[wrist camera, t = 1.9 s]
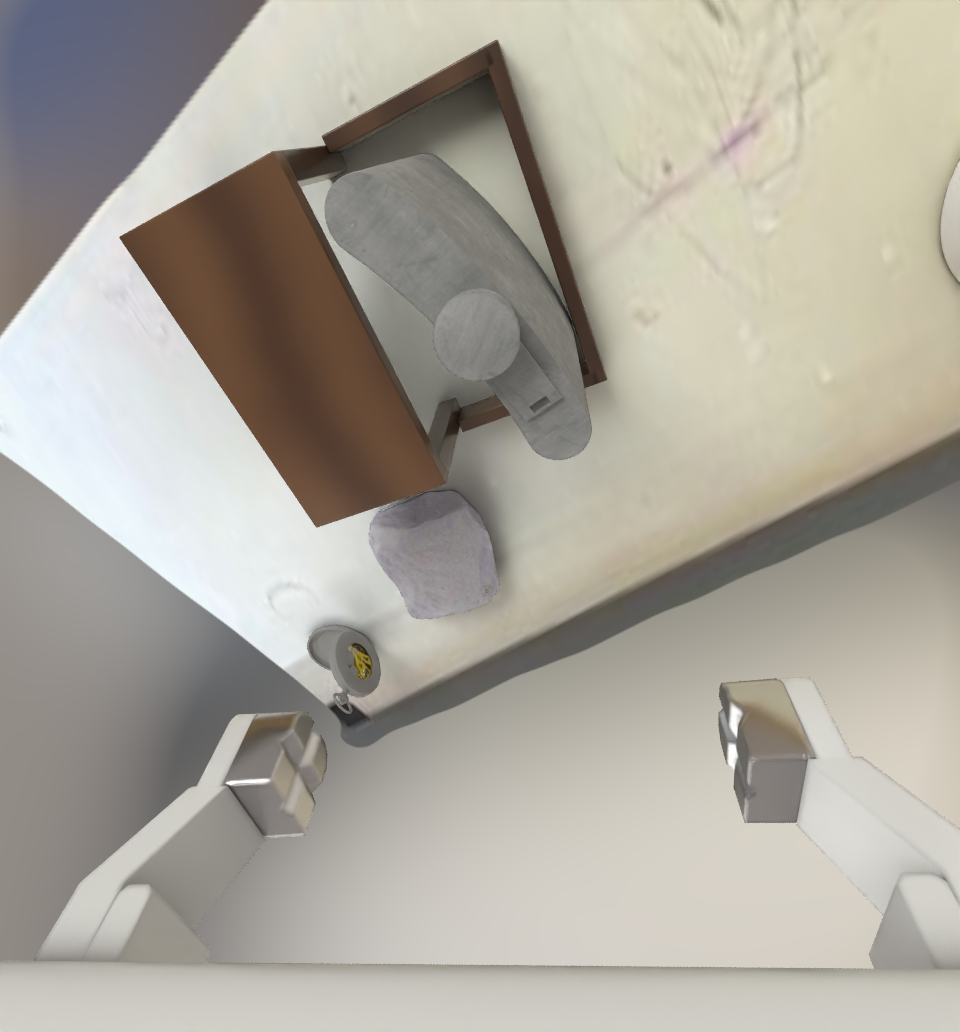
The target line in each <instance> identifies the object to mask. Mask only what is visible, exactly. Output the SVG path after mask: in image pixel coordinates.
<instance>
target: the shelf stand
mask: <svg viewBox="0 0 960 1032" xmlns="http://www.w3.org/2000/svg"><path fill="white" fill-rule="evenodd" d="M487 73H489V74H490V77H491V79H492V82H493V85H494V88H495V91H496V94H497V97H498V100H499V103H500V106H501V109H502V112H503V115H504V118H505V121H506V124H507V127H508V130H509V133H510V136H511V139H512V142H513V145H514V148H515V151H516V154H517V157H518V160H519V163H520V166H521V169H522V172H523V175H524V178H525V181H526V184H527V187H528V190H529V193H530V196H531V199H532V202H533V205H534V208H535V211H536V214H537V217H538V220H539V223H540V226H541V229H542V231H543V234H544V237H545V240H546V243H547V246H548V249H549V252H550V255H551V258H552V261H553V264H554V267H555V270H556V273H557V276H558V279H559V282H560V285H561V288H562V291H563V294H564V297H565V300H566V303H567V306H568V309H569V312H570V315H571V318H572V321H573V324H574V327H575V330H576V333H577V336H578V339H579V342H580V345H581V348H582V351H583V354H584V357H585V360H586V362H584V363H582V364H580V369H581V374H582V379H583V384H584V388H586V387H589V386H592V385H595V384H597V383H600V382H603V381H606V380H607V377H606V374H605V370H604V367H603V364H602V361H601V357H600V354H599V351H598V348H597V345H596V342H595V339H594V336H593V333H592V329H591V326H590V323H589V320H588V317H587V314H586V311H585V308H584V305H583V301H582V298H581V295H580V292H579V289H578V286H577V283H576V280H575V277H574V273H573V270H572V267H571V264H570V261H569V258H568V255H567V252H566V249H565V245H564V242H563V239H562V236H561V233H560V230H559V227H558V224H557V221H556V217H555V214H554V211H553V208H552V205H551V202H550V199H549V196H548V193H547V189H546V186H545V183H544V180H543V177H542V174H541V171H540V168H539V165H538V161H537V158H536V155H535V152H534V149H533V146H532V143H531V140H530V137H529V133H528V130H527V127H526V124H525V121H524V118H523V115H522V112H521V109H520V105H519V102H518V99H517V96H516V93H515V90H514V87H513V84H512V81H511V77H510V74H509V71H508V68H507V65H506V62H505V59H504V56H503V53H502V49H501V46H500V44H499V41H498V40H495V41H493V42H491V43H490V44H488V45H486V46H484V47H482V48H481V49H479V50H477V51H475V52H473V53H471V54H470V55H468V56H466V57H464V58H462V59H461V60H459V61H457V62H455V63H453V64H452V65H450V66H448V67H446V68H444V69H442V70H441V71H439V72H437V73H435V74H433V75H432V76H430V77H428V78H426V79H424V80H423V81H421V82H419V83H417V84H415V85H413V86H412V87H410V88H408V89H406V90H404V91H403V92H401V93H399V94H397V95H395V96H394V97H392V98H390V99H388V100H386V101H384V102H383V103H381V104H379V105H377V106H375V107H374V108H372V109H370V110H368V111H366V112H365V113H363V114H361V115H359V116H357V117H355V118H354V119H352V120H350V121H348V122H346V123H345V124H343V125H341V126H339V127H337V128H336V129H334V130H332V131H330V132H328V133H326V134H325V135H323V136H322V138H323V140H324V142H325V145H326V146H318V147H309V148H300V149H291V150H281V151H272V152H271V153H269V154H267V155H265V156H263V157H262V158H260V159H258V160H256V161H254V162H253V163H251V164H249V165H247V166H245V167H244V168H242V169H240V170H238V171H236V172H235V173H233V174H231V175H229V176H228V177H226V178H224V179H222V180H220V181H219V182H217V183H215V184H213V185H211V186H210V187H208V188H206V189H204V190H202V191H201V192H199V193H197V194H195V195H194V196H192V197H190V198H188V199H186V200H185V201H183V202H181V203H179V204H177V205H176V206H174V207H172V208H170V209H168V210H167V211H165V212H163V213H161V214H159V215H158V216H156V217H154V218H152V219H151V220H149V221H147V222H145V223H143V224H142V225H140V226H138V227H136V228H134V229H133V230H131V231H129V232H127V233H125V234H124V235H122V236H120V237H119V238H120V239H121V241H122V242H123V244H124V245H125V247H126V248H127V250H128V251H129V253H130V254H131V256H132V257H133V259H134V260H135V261H136V263H137V264H138V266H139V267H140V269H141V270H142V272H143V273H144V275H145V276H146V278H147V279H148V281H149V282H150V284H151V285H152V286H153V288H154V289H155V291H156V292H157V294H158V295H159V297H160V298H161V300H162V301H163V303H164V304H165V306H166V307H167V309H168V310H169V311H170V313H171V314H172V316H173V317H174V319H175V320H176V322H177V323H178V325H179V326H180V328H181V329H182V331H183V332H184V334H185V335H186V336H187V338H188V339H189V341H190V342H191V344H192V345H193V347H194V348H195V350H196V351H197V353H198V354H199V356H200V357H201V359H202V360H203V361H204V363H205V364H206V366H207V367H208V369H209V370H210V372H211V373H212V375H213V376H214V378H215V379H216V381H217V382H218V384H219V385H220V386H221V388H222V389H223V391H224V392H225V394H226V395H227V397H228V398H229V400H230V401H231V403H232V404H233V406H234V407H235V409H236V410H237V411H238V413H239V414H240V416H241V417H242V419H243V420H244V422H245V423H246V425H247V426H248V428H249V429H250V431H251V432H252V434H253V435H254V436H255V438H256V439H257V441H258V442H259V444H260V445H261V447H262V448H263V450H264V451H265V453H266V454H267V456H268V457H269V459H270V460H271V461H272V463H273V464H274V466H275V467H276V469H277V470H278V472H279V473H280V475H281V476H282V478H283V479H284V481H285V482H286V484H287V485H288V486H289V488H290V489H291V491H292V492H293V494H294V495H295V497H296V498H297V500H298V501H299V503H300V504H301V506H302V507H303V509H304V510H305V511H306V513H307V514H308V516H309V517H310V519H311V520H312V522H313V523H314V525H315V526H316V527H320V526H323V525H326V524H329V523H332V522H335V521H338V520H341V519H344V518H347V517H350V516H353V515H355V514H358V513H361V512H364V511H367V510H370V509H373V508H376V507H379V506H382V505H385V504H388V503H391V502H394V501H397V500H400V499H403V498H406V497H409V496H412V495H415V494H418V493H421V492H424V491H427V490H430V489H433V488H436V487H439V486H441V485H444V484H446V481H447V477H448V472H449V468H450V464H451V460H452V456H453V452H454V448H455V444H456V439H457V435H458V431H459V427H460V428H461V430H462V432H464V431H467V430H470V429H473V428H476V427H478V426H481V425H484V424H487V423H489V422H492V421H495V420H498V419H500V418H503V417H506V416H509V415H511V414H510V413H509V411H508V410H507V409H506V407H505V406H504V405H503V403H502V402H501V400H500V399H499V398H498V396H497V395H496V396H493V397H491V398H488V399H485V400H483V401H480V402H477V403H475V404H472V405H469V406H467V407H464V408H461V409H460V407H459V405H458V402H457V400H456V398H453V399H451V400H448V401H446V402H443V403H440V404H439V405H438V408H437V411H436V414H435V417H434V420H433V423H432V426H431V429H430V432H429V435H427V433H426V431H425V429H424V428H423V426H422V424H421V422H420V420H419V418H418V416H417V414H416V412H415V410H414V408H413V406H412V404H411V402H410V400H409V398H408V396H407V394H406V392H405V390H404V388H403V387H402V385H401V383H400V381H399V379H398V377H397V375H396V373H395V371H394V369H393V367H392V365H391V363H390V361H389V359H388V357H387V355H386V353H385V351H384V349H383V348H382V346H381V344H380V342H379V340H378V338H377V336H376V334H375V332H374V330H373V328H372V326H371V324H370V322H369V320H368V318H367V316H366V314H365V312H364V310H363V308H362V307H361V305H360V303H359V301H358V299H357V297H356V295H355V293H354V291H353V289H352V287H351V285H350V283H349V281H348V279H347V277H346V275H345V273H344V271H343V269H342V267H341V266H340V264H339V262H338V260H337V258H336V256H335V254H334V252H333V250H332V248H331V246H330V244H329V242H328V240H327V238H326V236H325V234H324V232H323V230H322V228H321V227H320V225H319V223H318V221H317V219H316V217H315V215H314V213H313V211H312V209H311V207H310V205H309V203H308V201H307V199H306V197H305V195H304V193H303V191H302V189H301V186H305V185H309V184H312V183H316V182H320V181H323V180H327V179H330V178H332V177H334V176H336V175H338V174H340V173H342V172H343V171H345V170H347V169H348V168H347V165H346V163H345V161H344V159H343V157H342V155H341V153H340V152H342V151H344V150H346V149H348V148H350V147H351V146H353V145H355V144H357V143H359V142H361V141H363V140H365V139H366V138H368V137H370V136H372V135H374V134H376V133H378V132H379V131H381V130H383V129H385V128H387V127H389V126H391V125H392V124H394V123H396V122H398V121H400V120H402V119H404V118H405V117H407V116H409V115H411V114H413V113H415V112H417V111H418V110H420V109H422V108H424V107H426V106H428V105H430V104H432V103H433V102H435V101H437V100H439V99H441V98H443V97H445V96H446V95H448V94H450V93H452V92H454V91H456V90H458V89H459V88H461V87H463V86H465V85H467V84H469V83H471V82H472V81H474V80H476V79H478V78H480V77H482V76H484V75H486V74H487Z"/></svg>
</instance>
